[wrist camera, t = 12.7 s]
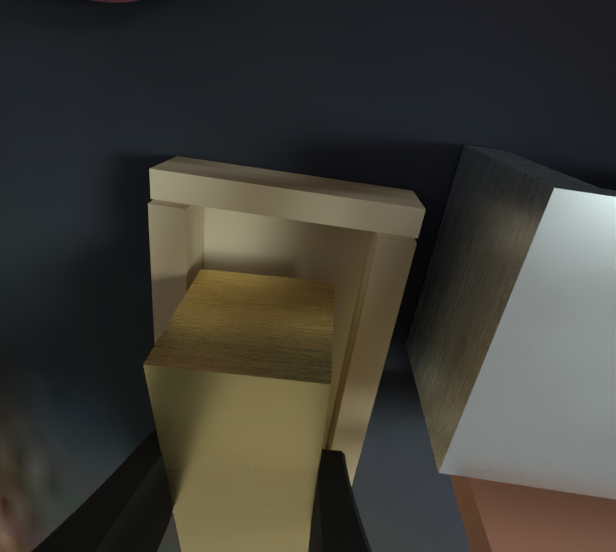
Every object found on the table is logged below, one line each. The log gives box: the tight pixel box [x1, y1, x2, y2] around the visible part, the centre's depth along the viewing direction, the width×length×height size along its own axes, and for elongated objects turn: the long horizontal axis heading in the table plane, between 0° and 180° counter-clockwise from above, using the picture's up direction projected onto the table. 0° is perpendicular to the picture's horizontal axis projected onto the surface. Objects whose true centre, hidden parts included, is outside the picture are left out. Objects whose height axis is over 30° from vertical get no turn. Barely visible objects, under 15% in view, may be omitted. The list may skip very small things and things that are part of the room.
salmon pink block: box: [450, 474, 616, 552], centre depth 10 cm, size 5×8×6 cm, turn 172°
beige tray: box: [148, 156, 426, 512], centre depth 14 cm, size 7×14×2 cm, turn 173°
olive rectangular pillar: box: [143, 269, 335, 552], centre depth 12 cm, size 9×4×4 cm, turn 176°
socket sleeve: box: [406, 145, 616, 500], centre depth 10 cm, size 8×7×5 cm
